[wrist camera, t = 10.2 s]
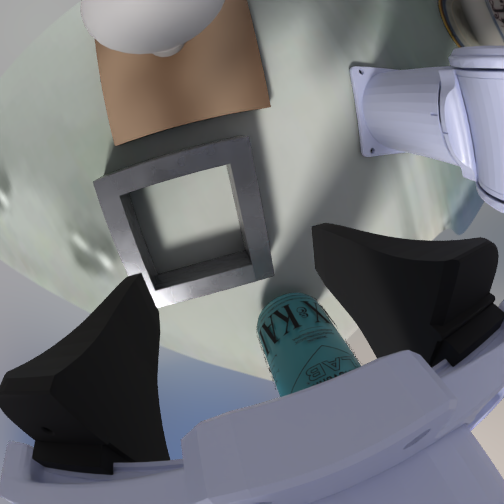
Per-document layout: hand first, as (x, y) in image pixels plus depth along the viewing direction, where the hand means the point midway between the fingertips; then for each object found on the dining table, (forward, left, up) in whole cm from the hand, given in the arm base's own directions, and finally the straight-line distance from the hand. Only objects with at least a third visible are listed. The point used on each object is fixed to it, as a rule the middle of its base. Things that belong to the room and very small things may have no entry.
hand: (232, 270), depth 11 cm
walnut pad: (0, -12, -10) cm, 16 cm away
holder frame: (+2, +1, -10) cm, 11 cm away
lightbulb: (0, -12, -10) cm, 16 cm away
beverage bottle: (-4, +12, -11) cm, 16 cm away
